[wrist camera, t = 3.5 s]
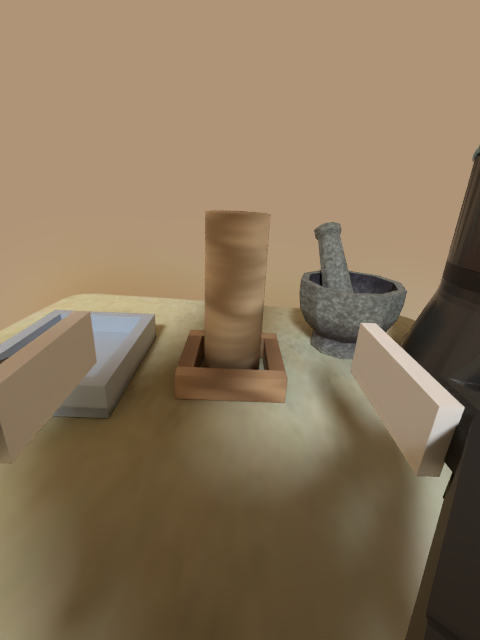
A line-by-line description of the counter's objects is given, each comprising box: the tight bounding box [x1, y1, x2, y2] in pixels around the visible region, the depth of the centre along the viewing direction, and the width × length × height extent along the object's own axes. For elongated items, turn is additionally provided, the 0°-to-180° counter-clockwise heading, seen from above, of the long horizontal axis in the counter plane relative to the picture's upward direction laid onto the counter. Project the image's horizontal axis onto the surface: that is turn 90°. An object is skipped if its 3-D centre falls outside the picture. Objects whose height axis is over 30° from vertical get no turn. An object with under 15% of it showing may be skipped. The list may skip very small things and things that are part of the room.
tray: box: [0, 310, 156, 418], centre depth 27 cm, size 10×13×2 cm
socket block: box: [174, 330, 287, 403], centre depth 27 cm, size 8×8×2 cm
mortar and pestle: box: [300, 222, 407, 359], centre depth 32 cm, size 11×9×12 cm
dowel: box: [204, 211, 270, 370], centre depth 25 cm, size 5×5×13 cm
